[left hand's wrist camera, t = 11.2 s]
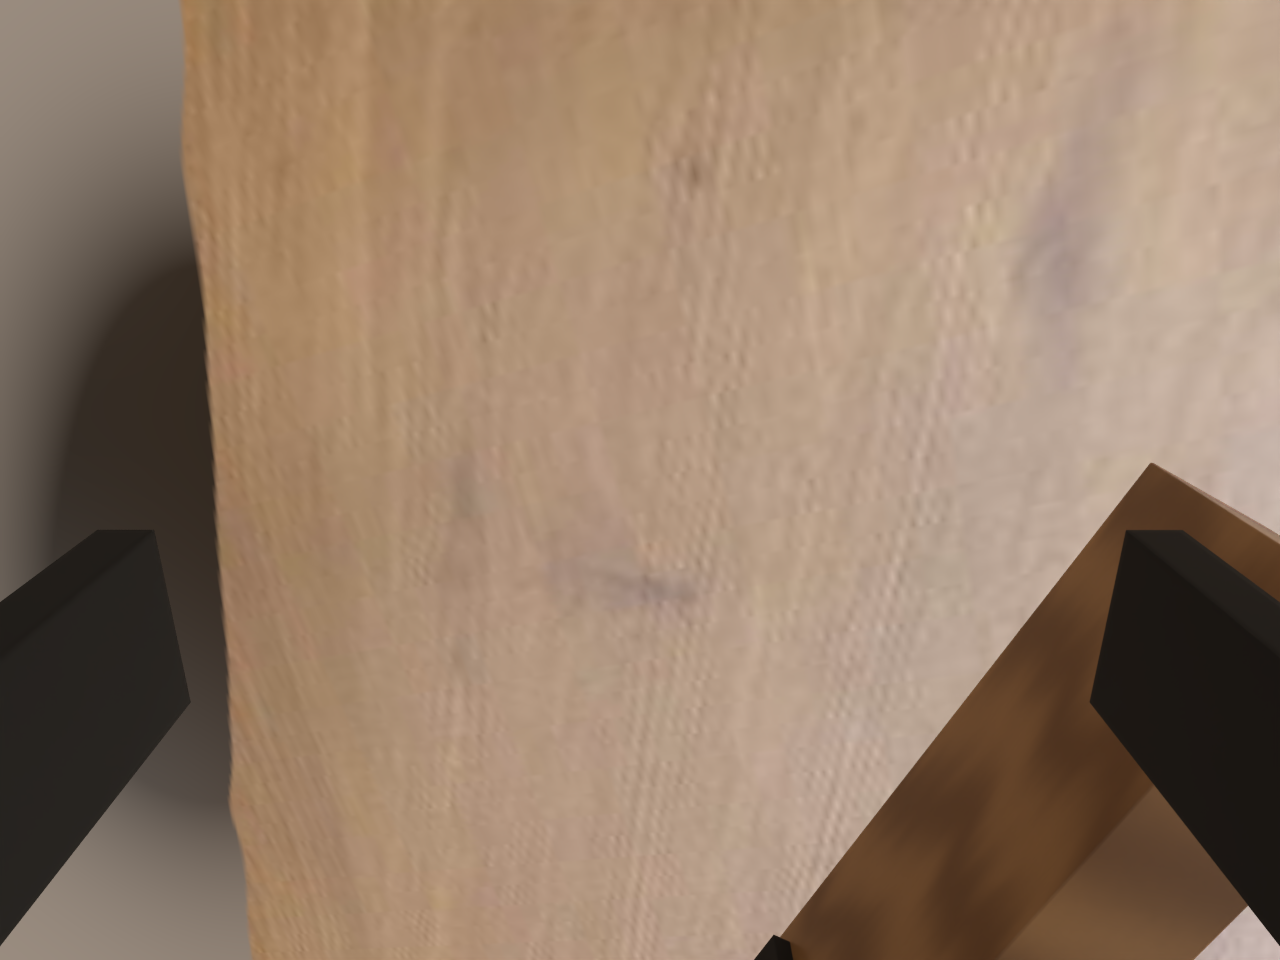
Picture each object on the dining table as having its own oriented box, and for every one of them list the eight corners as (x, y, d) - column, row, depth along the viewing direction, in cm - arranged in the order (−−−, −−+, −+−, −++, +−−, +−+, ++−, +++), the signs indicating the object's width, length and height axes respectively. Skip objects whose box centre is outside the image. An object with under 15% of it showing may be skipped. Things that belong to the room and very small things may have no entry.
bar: (1150, 461, 28) (1337, 580, 20) (1267, 528, 28) (1489, 666, 21) (727, 1003, 36) (749, 1232, 28) (828, 1043, 36) (875, 1277, 29)
